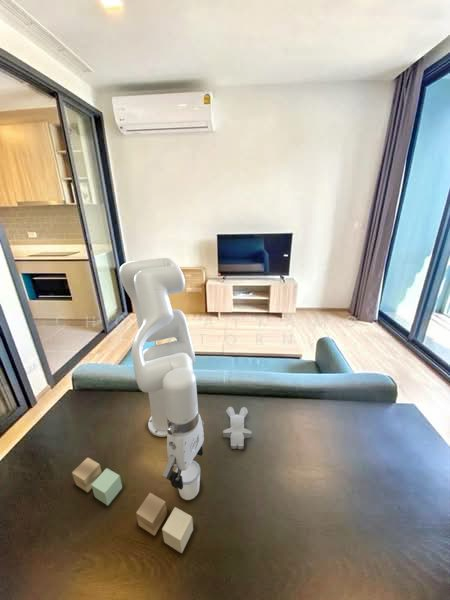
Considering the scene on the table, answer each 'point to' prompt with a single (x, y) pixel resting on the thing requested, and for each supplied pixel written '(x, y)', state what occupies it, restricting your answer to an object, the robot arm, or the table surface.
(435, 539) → the table surface
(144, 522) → the block
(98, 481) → the block
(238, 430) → the bunny figurine
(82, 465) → the block
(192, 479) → the white cylinder
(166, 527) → the block
